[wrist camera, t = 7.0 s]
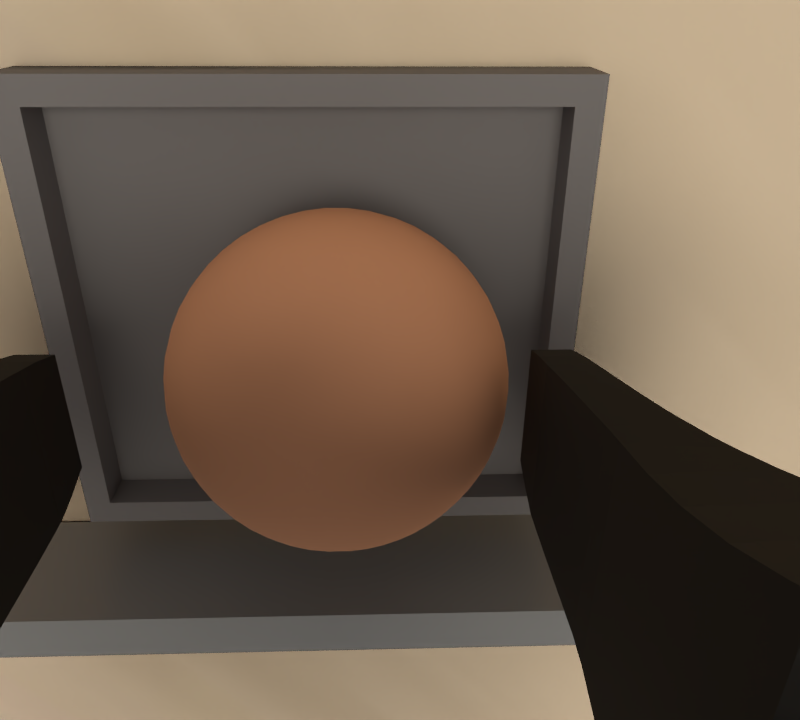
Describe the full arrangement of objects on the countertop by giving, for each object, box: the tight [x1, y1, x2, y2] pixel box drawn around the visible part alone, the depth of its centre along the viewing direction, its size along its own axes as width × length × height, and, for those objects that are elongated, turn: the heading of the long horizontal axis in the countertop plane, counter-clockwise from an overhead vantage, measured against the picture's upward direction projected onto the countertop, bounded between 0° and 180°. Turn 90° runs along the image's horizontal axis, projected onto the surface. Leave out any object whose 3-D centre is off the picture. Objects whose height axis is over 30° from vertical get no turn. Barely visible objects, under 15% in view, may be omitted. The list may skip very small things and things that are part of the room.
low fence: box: [0, 514, 576, 657], centre depth 16 cm, size 1×16×3 cm, turn 90°
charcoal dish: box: [0, 66, 610, 522], centre depth 14 cm, size 9×10×1 cm
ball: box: [163, 208, 509, 552], centre depth 12 cm, size 6×6×6 cm
